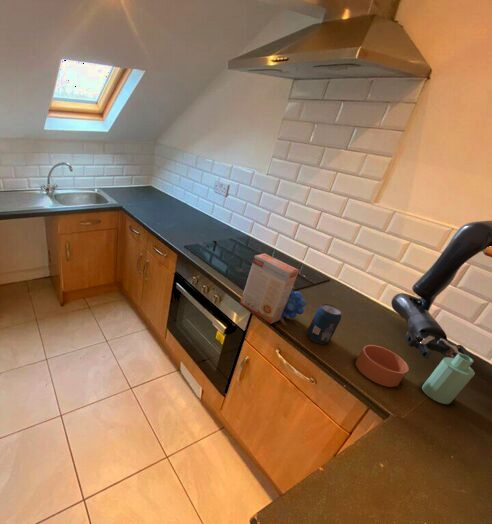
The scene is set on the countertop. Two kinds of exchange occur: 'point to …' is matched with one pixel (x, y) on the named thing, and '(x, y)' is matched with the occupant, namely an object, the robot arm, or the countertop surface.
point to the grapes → (294, 305)
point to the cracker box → (268, 287)
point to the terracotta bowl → (381, 365)
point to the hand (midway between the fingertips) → (446, 361)
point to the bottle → (449, 378)
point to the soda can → (324, 323)
